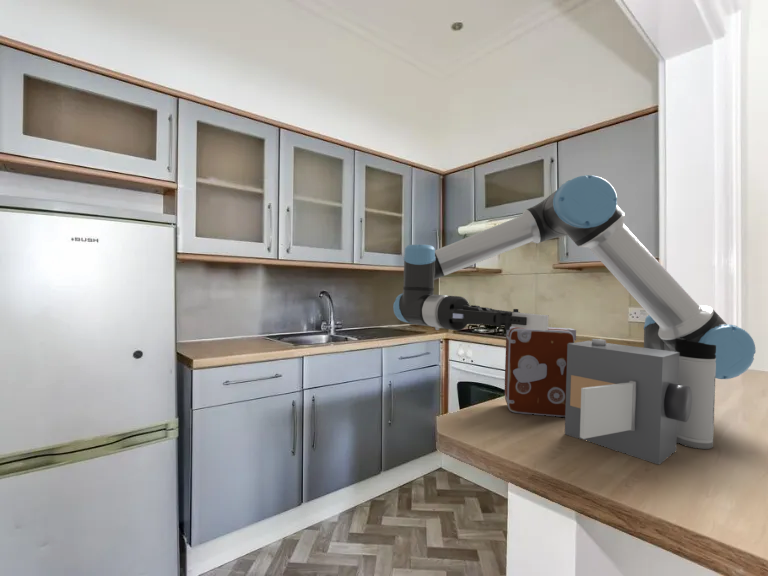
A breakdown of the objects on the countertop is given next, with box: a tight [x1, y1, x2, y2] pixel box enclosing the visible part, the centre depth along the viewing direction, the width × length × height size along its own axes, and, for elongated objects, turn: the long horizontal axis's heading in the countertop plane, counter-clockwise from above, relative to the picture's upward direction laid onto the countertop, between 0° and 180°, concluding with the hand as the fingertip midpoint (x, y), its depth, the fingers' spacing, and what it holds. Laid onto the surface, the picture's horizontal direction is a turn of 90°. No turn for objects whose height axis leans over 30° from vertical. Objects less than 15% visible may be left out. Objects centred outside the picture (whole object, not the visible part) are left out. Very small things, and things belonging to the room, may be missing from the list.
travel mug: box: [675, 338, 716, 450], centre depth 75 cm, size 6×7×20 cm
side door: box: [580, 381, 636, 439], centre depth 65 cm, size 12×1×8 cm, turn 113°
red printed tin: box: [504, 326, 577, 418], centre depth 91 cm, size 9×19×20 cm, turn 78°
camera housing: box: [564, 338, 692, 465], centre depth 73 cm, size 18×9×19 cm, turn 38°
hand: (545, 322), depth 70 cm, fingers closed
